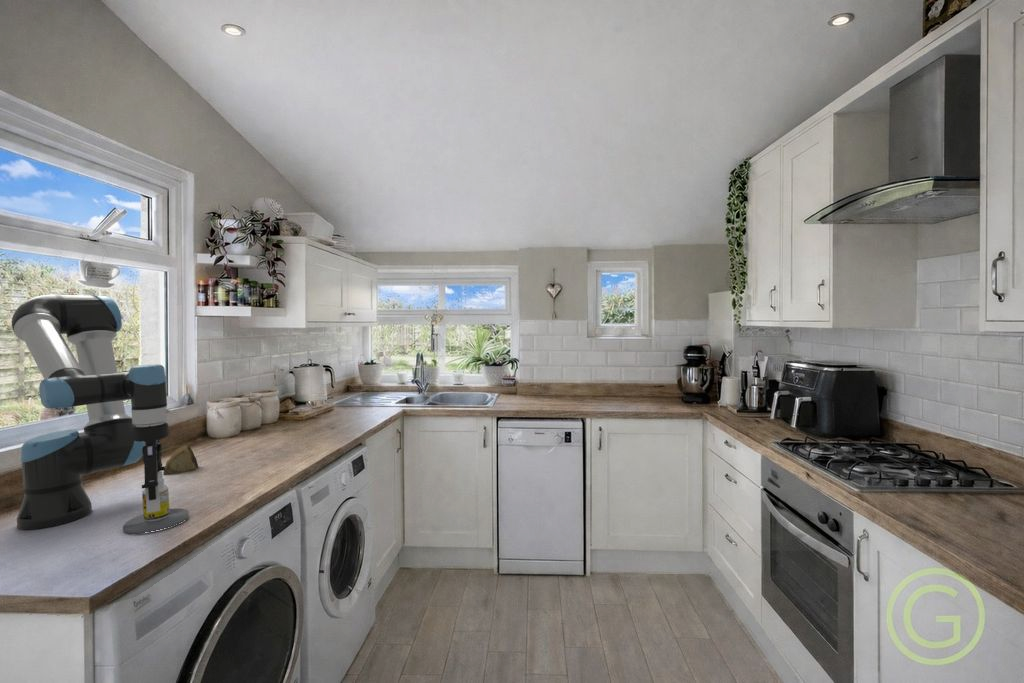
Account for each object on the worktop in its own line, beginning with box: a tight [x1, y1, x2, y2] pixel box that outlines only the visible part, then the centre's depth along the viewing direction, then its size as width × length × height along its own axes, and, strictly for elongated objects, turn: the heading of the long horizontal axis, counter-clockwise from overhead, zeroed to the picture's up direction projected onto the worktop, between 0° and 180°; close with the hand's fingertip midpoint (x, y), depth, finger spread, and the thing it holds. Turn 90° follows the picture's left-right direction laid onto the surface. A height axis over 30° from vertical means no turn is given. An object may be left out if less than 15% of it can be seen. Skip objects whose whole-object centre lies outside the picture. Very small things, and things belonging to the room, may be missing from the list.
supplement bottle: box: [141, 478, 170, 522], centre depth 129 cm, size 6×6×10 cm
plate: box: [122, 507, 190, 535], centre depth 130 cm, size 14×14×1 cm
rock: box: [162, 445, 199, 475], centre depth 178 cm, size 10×8×10 cm
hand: (155, 503), depth 130 cm, fingers open, 13 cm apart
